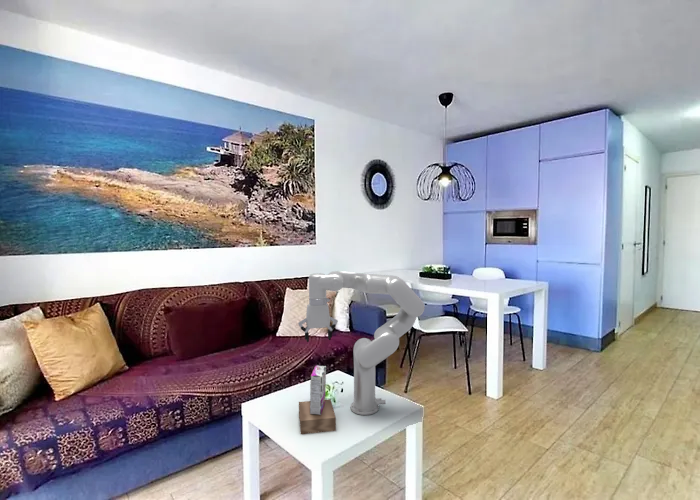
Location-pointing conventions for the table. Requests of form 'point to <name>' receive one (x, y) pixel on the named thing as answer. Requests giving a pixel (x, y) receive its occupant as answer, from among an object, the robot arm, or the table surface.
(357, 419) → the table surface
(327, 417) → the walnut block
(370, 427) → the table surface
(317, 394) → the candy bar box
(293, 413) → the table surface
